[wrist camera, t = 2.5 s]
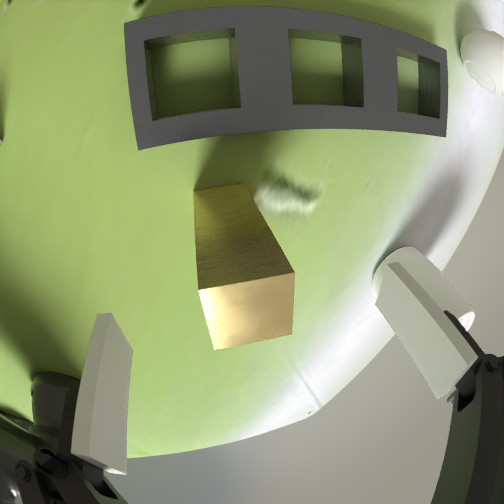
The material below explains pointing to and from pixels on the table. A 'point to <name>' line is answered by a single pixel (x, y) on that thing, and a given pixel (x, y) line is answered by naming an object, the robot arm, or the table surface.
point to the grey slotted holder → (286, 74)
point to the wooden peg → (240, 269)
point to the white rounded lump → (484, 59)
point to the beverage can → (428, 283)
